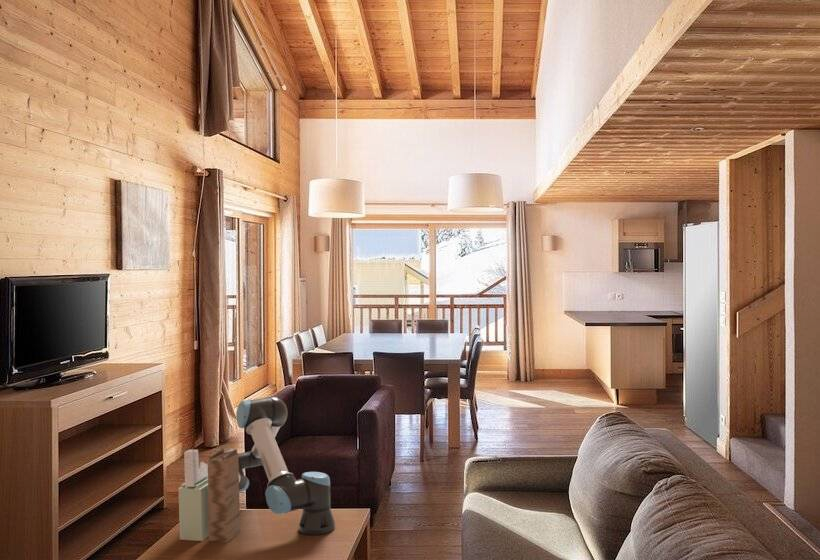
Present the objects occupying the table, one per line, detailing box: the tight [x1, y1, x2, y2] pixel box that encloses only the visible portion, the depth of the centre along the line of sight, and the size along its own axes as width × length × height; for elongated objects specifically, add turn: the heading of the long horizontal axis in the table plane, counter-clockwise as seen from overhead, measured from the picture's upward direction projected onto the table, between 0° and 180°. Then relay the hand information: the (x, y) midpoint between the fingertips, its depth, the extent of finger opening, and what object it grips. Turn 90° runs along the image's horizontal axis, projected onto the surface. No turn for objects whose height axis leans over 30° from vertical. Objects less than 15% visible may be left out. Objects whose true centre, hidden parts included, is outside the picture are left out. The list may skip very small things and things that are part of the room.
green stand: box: [178, 478, 209, 542], centre depth 270 cm, size 10×12×22 cm
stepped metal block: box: [183, 449, 208, 487], centre depth 274 cm, size 20×4×14 cm, turn 168°
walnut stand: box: [207, 448, 241, 543], centre depth 267 cm, size 8×11×34 cm
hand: (205, 465), depth 277 cm, fingers closed on stepped metal block, 4 cm apart
